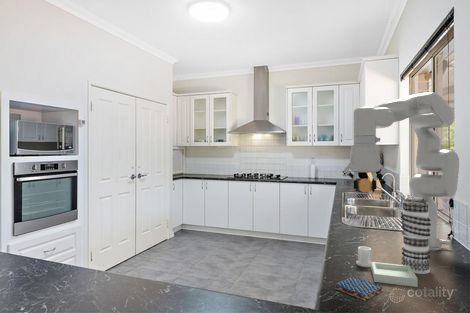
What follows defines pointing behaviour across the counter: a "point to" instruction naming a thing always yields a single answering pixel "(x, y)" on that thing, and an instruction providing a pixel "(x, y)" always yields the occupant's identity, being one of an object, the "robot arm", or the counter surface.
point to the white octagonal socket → (364, 256)
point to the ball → (364, 185)
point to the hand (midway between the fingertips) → (364, 190)
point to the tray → (394, 274)
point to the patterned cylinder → (416, 234)
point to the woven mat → (359, 288)
